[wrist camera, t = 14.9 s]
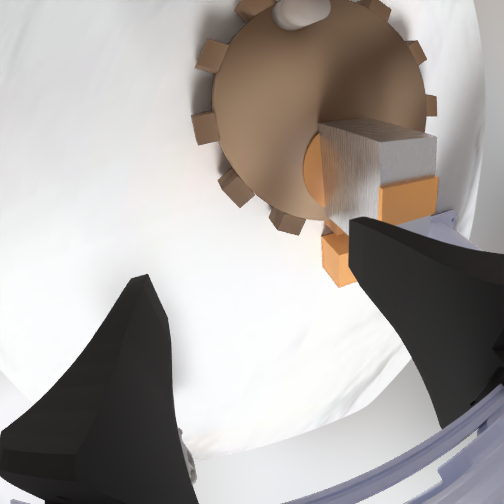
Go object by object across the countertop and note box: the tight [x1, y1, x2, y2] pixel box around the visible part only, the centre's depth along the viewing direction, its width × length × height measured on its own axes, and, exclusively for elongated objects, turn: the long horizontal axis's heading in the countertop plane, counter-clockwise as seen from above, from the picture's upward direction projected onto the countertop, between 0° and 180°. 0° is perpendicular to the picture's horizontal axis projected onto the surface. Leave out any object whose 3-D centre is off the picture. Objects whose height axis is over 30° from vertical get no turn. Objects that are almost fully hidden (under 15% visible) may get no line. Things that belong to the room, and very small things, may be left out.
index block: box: [321, 233, 357, 288], centre depth 23 cm, size 3×2×3 cm, turn 9°
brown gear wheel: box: [191, 0, 437, 236], centre depth 15 cm, size 17×17×5 cm
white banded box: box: [318, 118, 439, 237], centre depth 15 cm, size 6×4×6 cm, turn 9°
